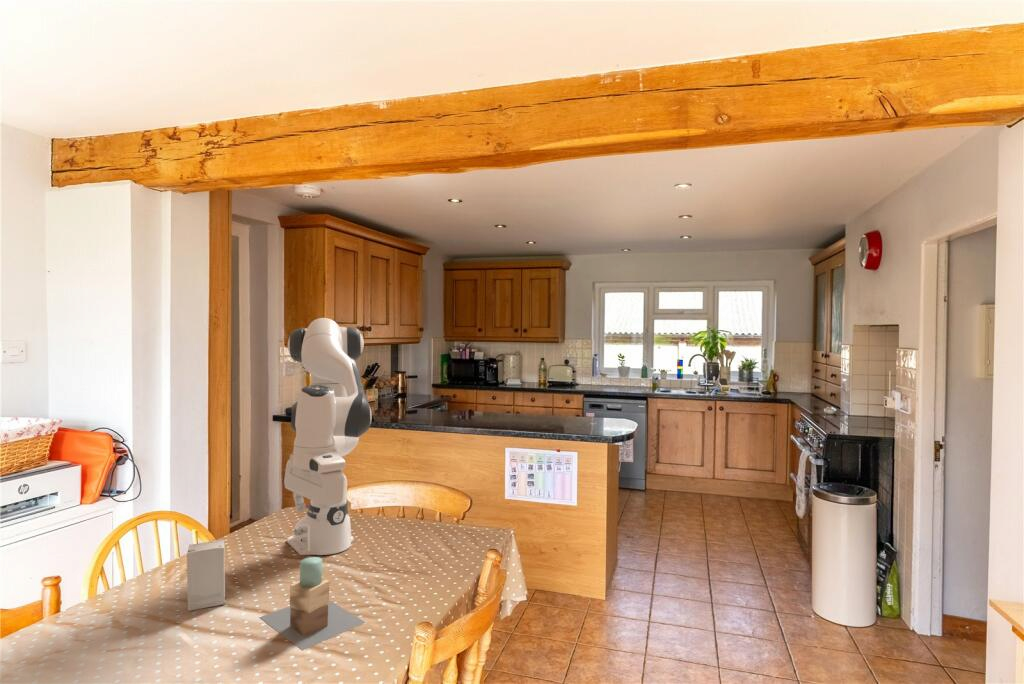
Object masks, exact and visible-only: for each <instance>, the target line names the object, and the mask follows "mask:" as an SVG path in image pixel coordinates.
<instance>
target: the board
mask: <svg viewBox="0 0 1024 684" xmlns="http://www.w3.org/2000/svg"><path fill="white" fill-rule="evenodd" d="M327 604H328V626H326V627H324V628H321V629H319V630H317V631H314V632H312V633H310V634H307V635H305V636H303V635H301V634H300V633H299V632H297V631H296V630H294V629H293V628H292V627H290V609H291V607H290V605H289V606H287V607H284V608H281V609H279V610H278V609H277V610H275V611H273V612H270V613H268V614H265V615H262V616H259V617H258V618H259V619H260V620H262V621H263V623H266V624H267V625H268V626H269V627H271V628H272V629H274V631H276V632H277V633H278V634H280V635H281V636H282V637H284V638H285V639H286V640H288V641H289V642H290V643H291V644H293V645H294V646H296V647H297V648H298V649H299V650H301V651H305V650H306V649H309V648H311V647H314V646H316V645H318V644H320V643H322V642H323V643H324V641H327V640H330V639H331V638H334V637H337V636H339V635H341V634H343V633H345V632H347V631H350V630H352V629H354V628H357V627H359V626H361V625H365V624H367V622H366V620H365V621H364V620H363V619H361V618H360V617H358V616H357V615H355V614H353V613H351V612H350V611H348V610H347V609H345V608H343V607H341V606H340V605H338V604H336V603H335V602H334V601H332V600H330V599H329V602H328V603H327Z"/></svg>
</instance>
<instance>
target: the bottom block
mask: <svg viewBox="0 0 1024 684" xmlns="http://www.w3.org/2000/svg"><path fill="white" fill-rule="evenodd" d="M326 626H328V604H327V603H326V604H325V605H323V606H321V607H319V608H318V609H316V610H314V611H312V612H311V613H307V612H303V611H300V610H297V609H294V608H291V609H290V627H292V628H293V629H294V630H296V631H297V632H299V633H300V634H301V635H303V636H305V635H307V634H310V633H312V632H314V631H317V630H319V629H321V628H324V627H326Z"/></svg>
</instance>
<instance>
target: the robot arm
mask: <svg viewBox="0 0 1024 684" xmlns="http://www.w3.org/2000/svg"><path fill="white" fill-rule="evenodd" d="M361 333H362V332H361V330H359V328H357V327H353V326H347V327H345V326H340V325H339V324H338V323H337V322H336V321H335V320H333V319H331V318H328V317H319V318H317V319H316V318H315V319H314V320H312V321H311V322H310V323H309V325H308V327H306V328H305V327H300V328H297V329H294V330H293V331H292V332H291V333H290V335H289V337H288V340H287V350H288V352H289V355H290V358H291V359H292V360H293V361H295V362H298V363H302V366H303V367H304V369H305V370H306V371H307V372H308V373H309V374H310V385H307V386H304V387H302V388H301V389H300V391H299V393H298V398H297V399H298V400H297V401H295V403H294V404H293V405H292V406H291V418H290V419H291V422H290V428H291V429H292V430H293V431H294V432H295V434H296V435H295V439H294V441H293V450H292V452H291V453H290V455H289V459H288V460H287V462H286V466H285V471H284V472H285V473H284V480H283V481H284V482H283V485H284V488H285V489H286V490H288V491H291V492H292V497H293V500H294V504H295V512H297V513H303V512H305V511H306V508H307V511H306V515H304V516H303V517H302V518H301V519H300V520H298V521H297V522H296V524H295V527H294V530H293V535H290V536H289V537H287V538H286V542H287V544H289V545H290V546H291V548H292V549H294V550H295V552H297V554H299V555H300V556H309V555H316V556H323V555H325V556H326V555H327V556H328V555H334V554H338V553H341V552H344V551H346V550H348V549H349V548H351V543H352V542H354V540H355V539H354V536H353V535H352V531H351V529H352V528H351V517H350V516H349V514H348V512H349V502H348V498H347V497H348V496H347V495H348V491H347V490H348V478H347V476H346V474H344V472H343V470H345V469H346V467H347V466H346V465H347V462H346V460H345V459H344V458H343V457H344V456H347V455H348V454H350V453H351V452H353V451H354V449H355V448H357V446H358V444H359V441H360V436H362V435H364V434H365V433H366V432H368V430H370V428H371V424H372V419H373V418H372V414H373V413H372V409H371V406H370V403H369V400H368V398H367V397H366V393H365V390H364V386H363V383H362V382H363V381H362V378H361V375H360V371H359V368H358V366H357V362H356V360H357V359H359V358H360V357H361V356H362V353H363V351H364V349H365V348H364V345H365V341H364V336H363V335H362V334H361ZM304 498H305V499H308V500H310V502H308V503H305V499H304ZM306 505H307V506H306Z"/></svg>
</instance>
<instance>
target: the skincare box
mask: <svg viewBox="0 0 1024 684" xmlns="http://www.w3.org/2000/svg"><path fill="white" fill-rule="evenodd" d="M225 549H226V546H225V539H218V540H212V541H207V542H206V541H205V542H198V543H191V544H189V545H188V549H187V552H186V558H187V559H186V568H187V569H186V572H187V574H186V575H187V581H186V582H187V611H188V612H189V611H195V610H201V609H204V608H205V609H206V608H210V607H211V608H212V607H216V606H217V607H218V606H221V605H224V604H225V600H226V599H225V598H226V573H225V572H226V565H225V563H226V562H225V561H226V560H225V558H226V557H225V556H226V551H225Z"/></svg>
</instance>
